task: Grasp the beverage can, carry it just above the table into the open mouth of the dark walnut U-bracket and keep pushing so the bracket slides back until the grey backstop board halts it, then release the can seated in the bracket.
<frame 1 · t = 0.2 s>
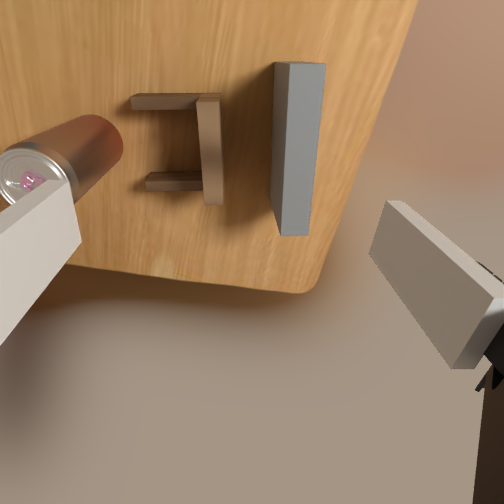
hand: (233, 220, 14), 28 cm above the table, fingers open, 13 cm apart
beverage can: (99, 140, 38), on the table
backstop: (284, 138, 39), on the table
bracket: (180, 148, 35), point 4 cm above the table, slide at 0.0 cm
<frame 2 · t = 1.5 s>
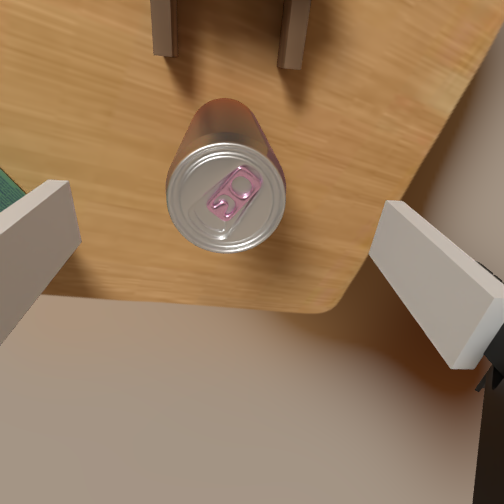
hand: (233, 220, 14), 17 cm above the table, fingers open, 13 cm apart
beverage can: (225, 134, 28), on the table
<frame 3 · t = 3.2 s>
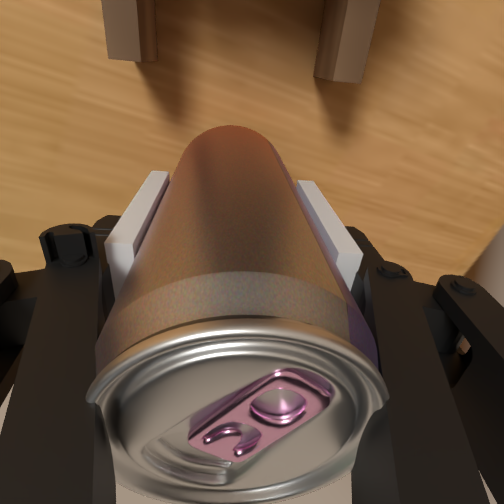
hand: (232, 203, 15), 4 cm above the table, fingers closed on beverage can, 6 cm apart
beverage can: (231, 176, 19), on the table, touching gripper
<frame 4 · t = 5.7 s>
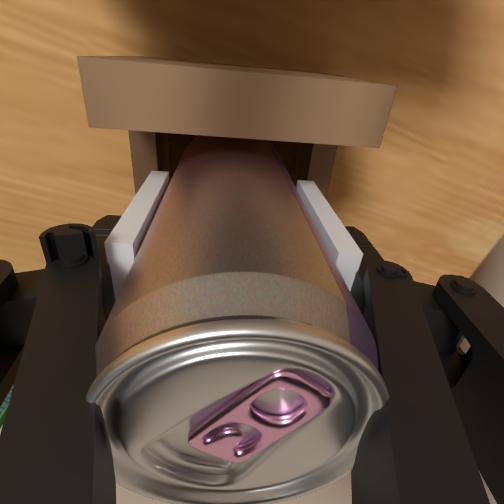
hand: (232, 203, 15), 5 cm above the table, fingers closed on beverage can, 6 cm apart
beverage can: (231, 176, 19), point 1 cm above the table, touching gripper
bracket: (234, 173, 16), point 4 cm above the table, slide at 0.0 cm
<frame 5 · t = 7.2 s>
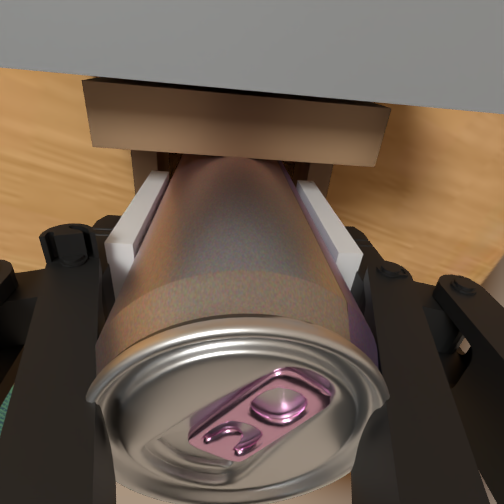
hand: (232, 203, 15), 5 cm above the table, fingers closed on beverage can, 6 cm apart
beverage can: (231, 176, 19), point 1 cm above the table, touching gripper
backstop: (239, 39, 16), on the table
bracket: (233, 186, 16), point 4 cm above the table, slide at 5.7 cm
when the fingers open (5 cm above the table, at t = 8.2 s): beverage can drops 1 cm, on the table.
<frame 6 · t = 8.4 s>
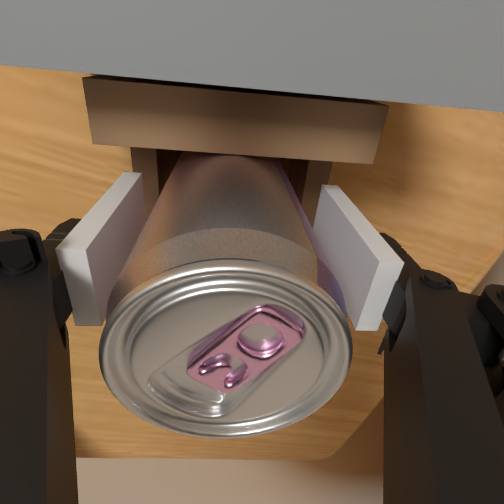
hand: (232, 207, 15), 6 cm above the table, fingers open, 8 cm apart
beverage can: (229, 168, 20), on the table
backstop: (238, 39, 16), on the table
bracket: (233, 184, 16), point 4 cm above the table, slide at 5.7 cm
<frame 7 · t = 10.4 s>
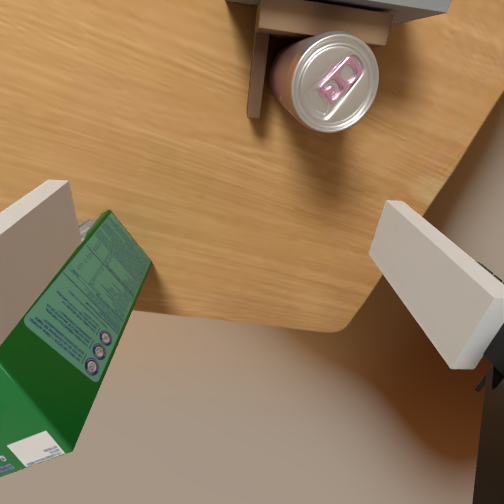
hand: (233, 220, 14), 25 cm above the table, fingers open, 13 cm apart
beverage can: (297, 76, 33), on the table
bracket: (307, 72, 29), point 4 cm above the table, slide at 5.7 cm
milk carton: (105, 250, 43), on the table
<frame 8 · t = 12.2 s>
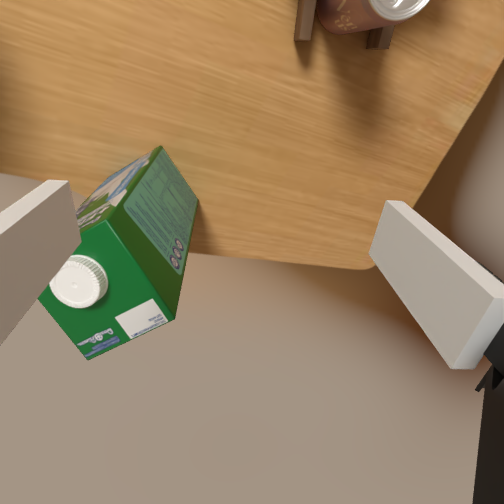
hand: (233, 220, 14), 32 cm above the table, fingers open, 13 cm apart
beverage can: (341, 3, 36), on the table
milk carton: (154, 188, 46), on the table
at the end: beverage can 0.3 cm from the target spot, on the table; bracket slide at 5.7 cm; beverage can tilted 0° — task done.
